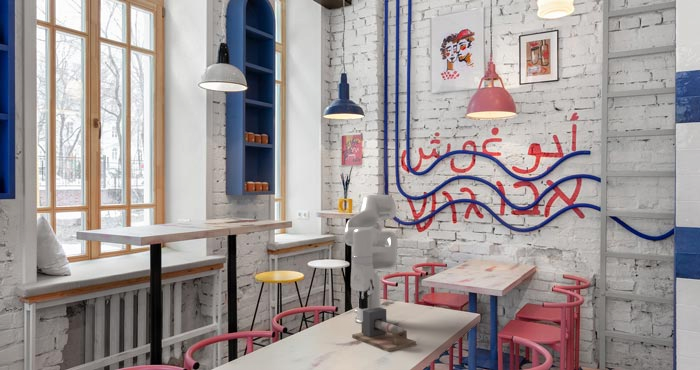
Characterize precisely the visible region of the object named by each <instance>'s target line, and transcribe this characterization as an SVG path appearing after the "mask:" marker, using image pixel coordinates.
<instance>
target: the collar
mask: <svg viewBox="0 0 700 370" xmlns="http://www.w3.org/2000/svg"><path fill="white" fill-rule="evenodd" d="M380 307H381V306H380ZM380 307H379V308H373V309H368V310H363V335H366V336H368V337H372V336H377V335H381V334H385V333H387V332H386V331H383V330H380V329H378V328H375V327H374V320H375V319H377V320H380V321H383V322H386V323H387V309H386V308H383V307H381V308H380Z"/></svg>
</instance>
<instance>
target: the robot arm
mask: <svg viewBox="0 0 700 370" xmlns="http://www.w3.org/2000/svg"><path fill="white" fill-rule="evenodd" d="M396 214H397V205H396V203H395V199H394V198H393V196H391V195H390V194H369V195H366V196H364V197H363V199H362V201H361V203H360V205H359V208H358V213H356V214H355V215H353V216H352V217H351V218H349V219H348V220H347V222H346V224H345V228H344V232H343V240H344V243H345V244H346V245H347V246H350V247H352V262H353V263H352V265H351V270H350V271H351V272H350V288H351V289H352V290H353V291H354V292H355V293H356V294H357V306H358V307H357V308H356V309H355V310H354V313H356V316H355V317H354V321H355V323H358V324H361V325H362V321H363V310H368V309H373V308H379V307H380V308H382V307H381V278H380V275H378V274H377V272H376V271H375V270H393V269H395V267H396V265H397V259H398V237H397V235H396V233H395V232H393V231H389V230H388V231H385V230H383V229H382V226H381V224H379V220H391V219H394V218H395V217H396Z"/></svg>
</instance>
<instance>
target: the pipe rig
mask: <svg viewBox="0 0 700 370" xmlns="http://www.w3.org/2000/svg"><path fill="white" fill-rule="evenodd" d="M374 327H375V328H378V329H380V330H383V331H386V332H387V333H385V334H381V335H377V336H372V337H368V336H366V335H363V321H362V324H361V332H357V333H353V334H352V335H351V336H352V338H351V339H355V340H358V341H360V342H362V343H365V344H367V345H370V346H372V347H375V348H378V349H380V350H383V351H385V352H387V353H388V352H392V351H397V350H401V349H405V348H409V347H412V346H416V345H417V341H416V340H414V339H410V338H407V337H408V335H407V333H408V332H407V330H405V328H404V327H401V326H398V325H395V324H393V323H389V322H387V321H386V322H383V321H380V320H377V319H375V320H374Z"/></svg>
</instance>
